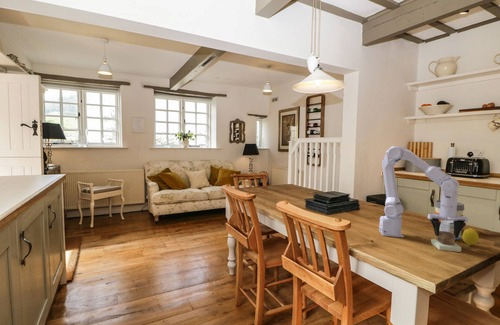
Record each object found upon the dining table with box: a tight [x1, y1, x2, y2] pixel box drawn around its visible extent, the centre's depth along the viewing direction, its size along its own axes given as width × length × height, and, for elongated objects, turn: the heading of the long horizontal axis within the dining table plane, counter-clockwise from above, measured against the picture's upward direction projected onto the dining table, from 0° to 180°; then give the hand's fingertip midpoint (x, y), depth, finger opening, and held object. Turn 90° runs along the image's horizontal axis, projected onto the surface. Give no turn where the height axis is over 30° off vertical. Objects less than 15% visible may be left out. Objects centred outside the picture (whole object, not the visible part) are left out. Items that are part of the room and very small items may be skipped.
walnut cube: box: [437, 230, 456, 245], centre depth 113 cm, size 4×4×4 cm
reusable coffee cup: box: [433, 199, 465, 231], centre depth 136 cm, size 12×13×15 cm
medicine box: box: [439, 220, 462, 241], centre depth 124 cm, size 8×4×9 cm, turn 106°
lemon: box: [461, 227, 480, 247], centre depth 115 cm, size 6×6×8 cm
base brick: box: [430, 238, 462, 253], centre depth 113 cm, size 8×8×2 cm
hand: (446, 236), depth 113 cm, fingers open, 7 cm apart
